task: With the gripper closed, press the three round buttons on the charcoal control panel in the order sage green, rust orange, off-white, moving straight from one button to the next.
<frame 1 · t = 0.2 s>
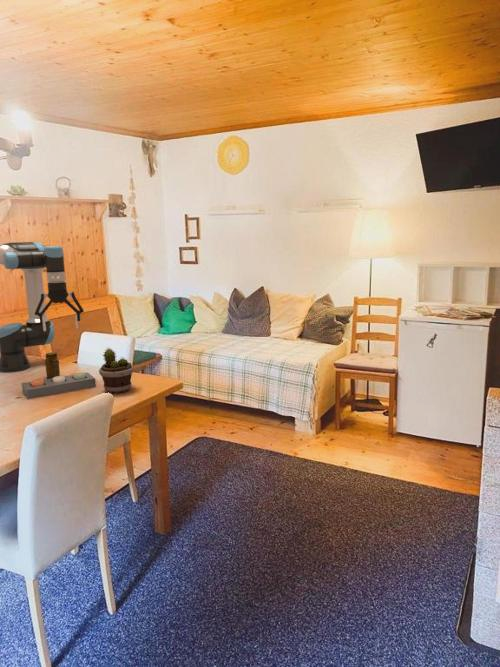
hand: (61, 329, 219), 27 cm above the table, tool pointing down, fingers open, 13 cm apart
flowerpot: (118, 390, 220), on the table
button sage: (79, 377, 226), point 4 cm above the table, slide at 0.0 cm
console: (59, 389, 222), on the table
condiment: (53, 378, 240), on the table
button white: (59, 381, 221), point 4 cm above the table, slide at 0.0 cm
button rust: (37, 384, 216), point 4 cm above the table, slide at 0.0 cm
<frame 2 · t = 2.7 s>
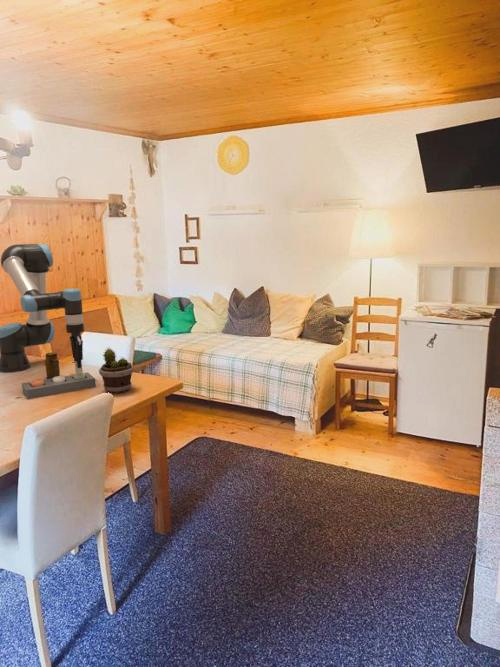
hand: (79, 374, 226), 6 cm above the table, tool pointing down, fingers closed
button sage: (79, 378, 226), point 4 cm above the table, slide at 0.1 cm, touching gripper
everything else where it was.
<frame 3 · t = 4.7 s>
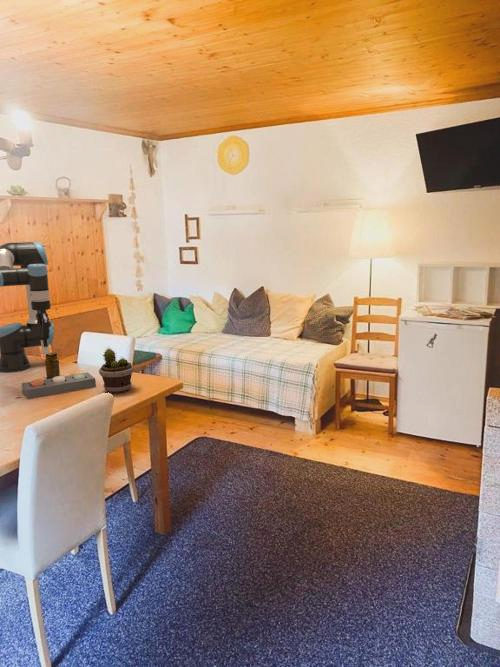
hand: (45, 353, 216), 17 cm above the table, tool pointing down, fingers closed
button sage: (79, 379, 226), point 3 cm above the table, slide at 0.7 cm
everything else where it was.
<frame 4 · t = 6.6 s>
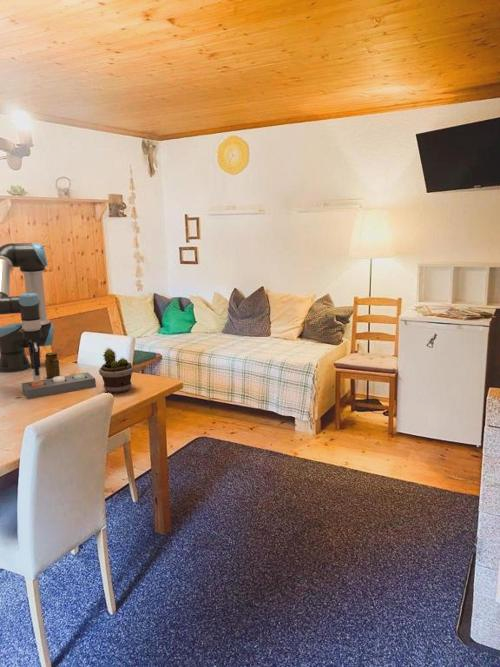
hand: (37, 382, 216), 5 cm above the table, tool pointing down, fingers closed
button rust: (37, 386, 217), point 3 cm above the table, slide at 0.7 cm, touching gripper
everything else where it was.
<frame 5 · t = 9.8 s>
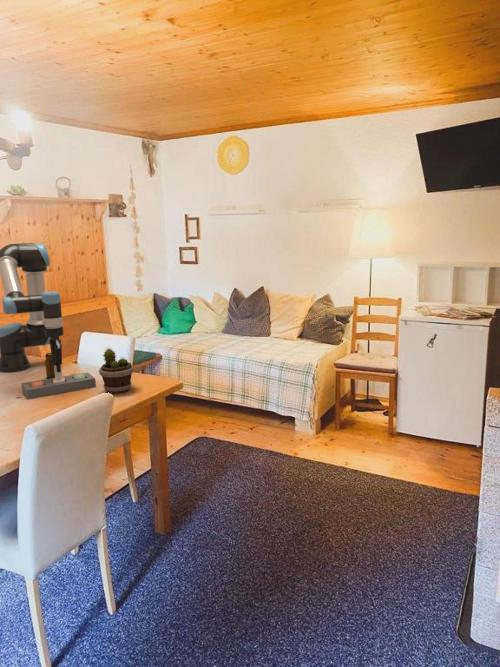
hand: (58, 378, 221), 5 cm above the table, tool pointing down, fingers closed
button white: (59, 382, 221), point 3 cm above the table, slide at 0.7 cm, touching gripper
button rust: (37, 386, 217), point 3 cm above the table, slide at 0.7 cm
everything else where it was.
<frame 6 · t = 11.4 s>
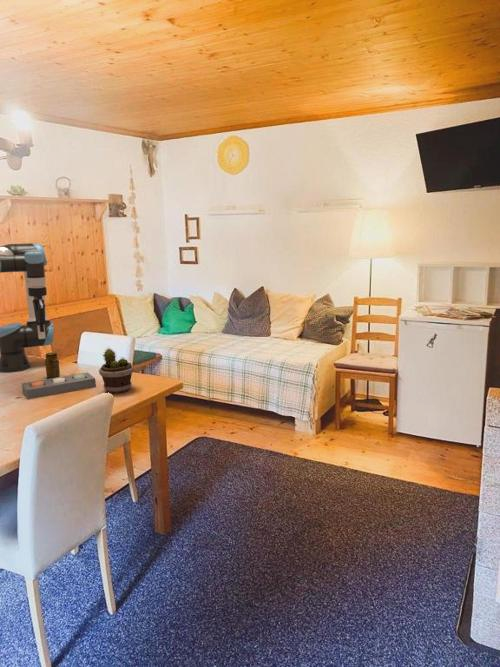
hand: (42, 338, 224), 22 cm above the table, tool pointing down, fingers closed
button white: (59, 382, 222), point 3 cm above the table, slide at 0.7 cm
everything else where it was.
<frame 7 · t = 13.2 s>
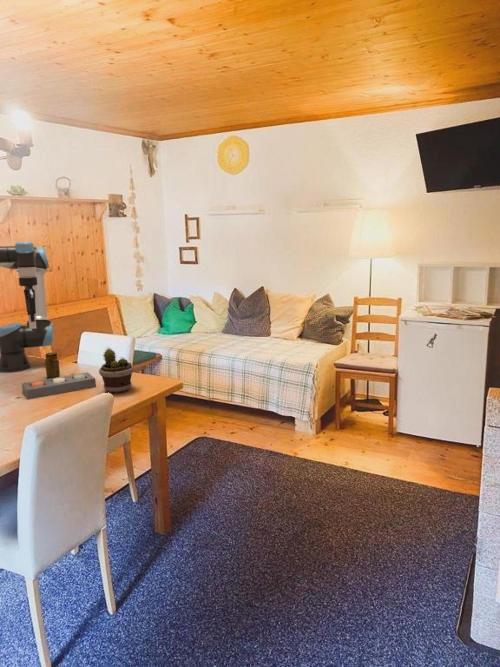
hand: (33, 328, 226), 26 cm above the table, tool pointing down, fingers closed
nothing on the table moved.
at the end: button sage slide at 0.7 cm; button rust slide at 0.7 cm; button white slide at 0.7 cm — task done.
